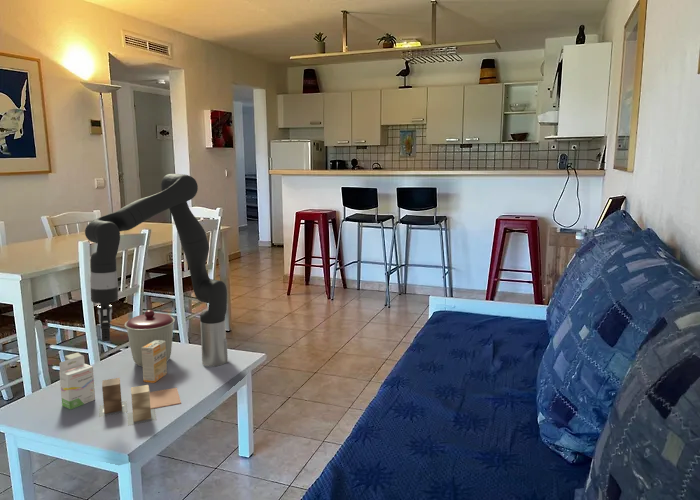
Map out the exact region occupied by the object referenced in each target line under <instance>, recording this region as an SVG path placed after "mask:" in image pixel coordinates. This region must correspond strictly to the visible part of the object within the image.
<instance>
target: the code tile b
mask: <svg viewBox="0 0 700 500" xmlns="http://www.w3.org/2000/svg"><path fill="white" fill-rule="evenodd" d="M126 413H127V426H134V425H139V424H144V423H149V422H154V421H157V420H158V419H157V414H156V408H154V409H151V419H148V420H142V421H137V422H133V411H132V412H126Z"/></svg>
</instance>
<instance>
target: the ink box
mask: <svg viewBox="0 0 700 500" xmlns="http://www.w3.org/2000/svg"><path fill="white" fill-rule="evenodd" d="M81 355H82V356H79V357H75V358H72V359H69V360H63V361H60V362H59V373H58V374H59V383H60V385H59V386H60V395H61V406H62V407H64V408H67V409H68V410H73V409H77V408H79V407H80V406H83V405H86V404H88V403H90V402H92V401H95V400H96V391H95V378H94V377H95V375H94V367H93V366H92V365H90V364H87V363H85V364H84V360H85V355H83V354H81ZM71 361H76V363H73V364H70V365H68V363H70V362H71Z"/></svg>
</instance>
